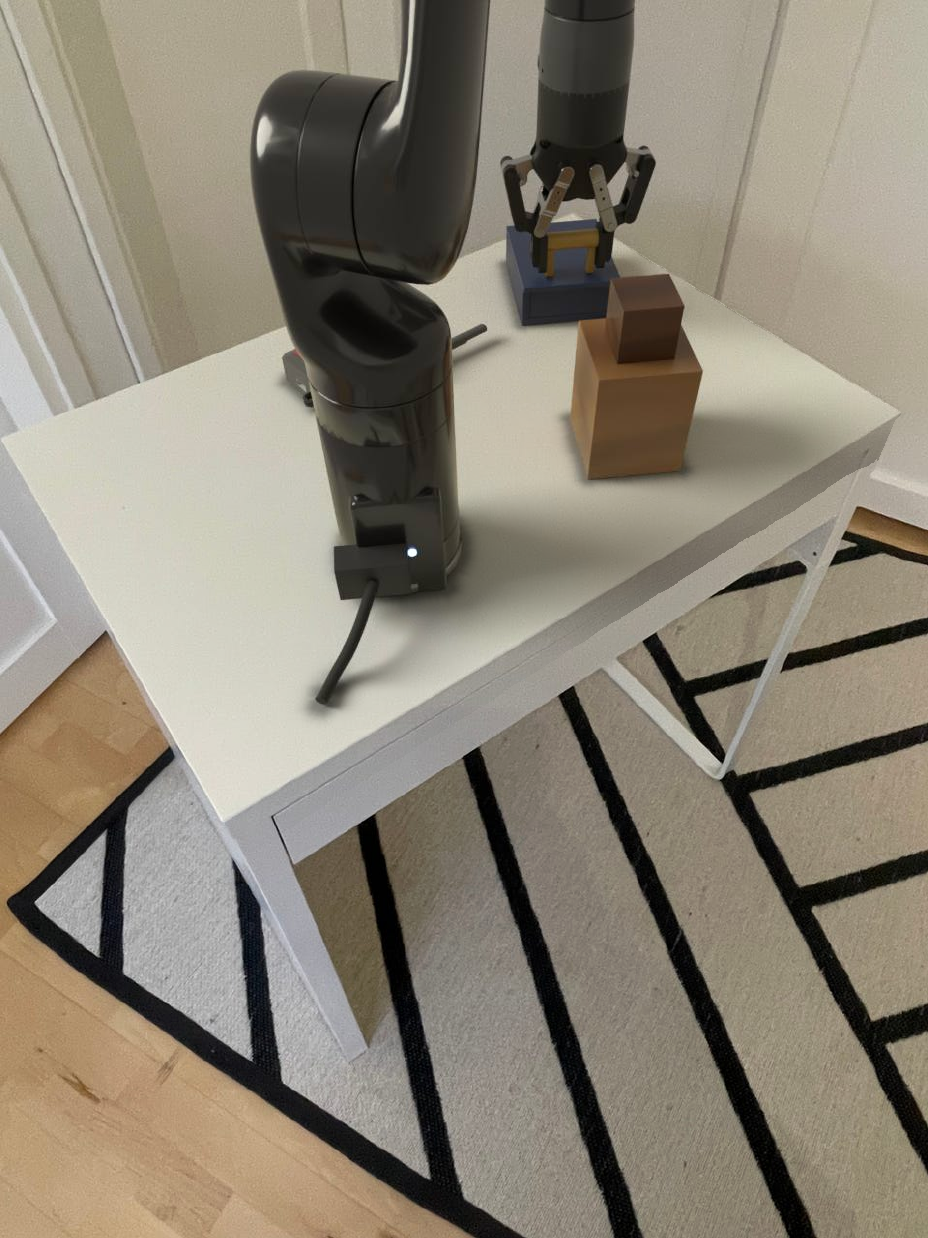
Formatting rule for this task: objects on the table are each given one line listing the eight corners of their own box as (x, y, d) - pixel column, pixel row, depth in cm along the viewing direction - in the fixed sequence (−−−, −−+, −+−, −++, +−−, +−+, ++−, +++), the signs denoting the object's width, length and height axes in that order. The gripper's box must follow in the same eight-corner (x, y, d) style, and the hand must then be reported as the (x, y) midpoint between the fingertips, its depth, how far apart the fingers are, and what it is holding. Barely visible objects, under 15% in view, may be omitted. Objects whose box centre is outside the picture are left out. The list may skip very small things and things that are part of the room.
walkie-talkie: (322, 429, 77) (493, 344, 84) (314, 388, 74) (493, 303, 81) (272, 383, 81) (438, 306, 89) (262, 343, 78) (436, 266, 85)
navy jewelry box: (615, 317, 87) (619, 282, 84) (521, 325, 86) (522, 291, 83) (592, 258, 94) (595, 224, 91) (505, 265, 93) (506, 231, 90)
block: (674, 359, 66) (684, 305, 62) (616, 364, 65) (623, 311, 62) (660, 325, 68) (669, 272, 65) (604, 330, 68) (610, 277, 65)
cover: (621, 285, 83) (627, 237, 80) (523, 293, 83) (525, 246, 79) (595, 223, 91) (600, 177, 87) (506, 231, 90) (506, 184, 87)
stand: (680, 470, 72) (703, 370, 64) (587, 479, 72) (598, 380, 64) (657, 411, 77) (675, 311, 69) (569, 419, 77) (578, 320, 69)
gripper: (503, 95, 67) (502, 293, 81) (682, 82, 68) (651, 281, 81) (491, 59, 72) (492, 252, 85) (659, 47, 73) (633, 241, 86)
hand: (570, 265), depth 83 cm, fingers closed on cover, 5 cm apart
